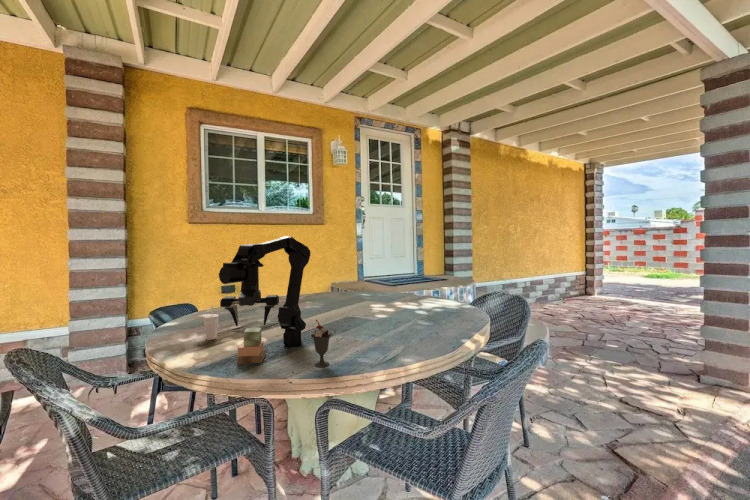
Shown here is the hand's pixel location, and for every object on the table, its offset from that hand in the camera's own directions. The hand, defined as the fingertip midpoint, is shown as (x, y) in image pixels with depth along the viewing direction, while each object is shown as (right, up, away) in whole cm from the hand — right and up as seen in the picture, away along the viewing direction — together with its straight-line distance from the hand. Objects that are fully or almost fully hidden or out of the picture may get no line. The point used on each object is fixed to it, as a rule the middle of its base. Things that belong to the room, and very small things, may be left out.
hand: (251, 325), depth 127 cm
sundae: (+25, -12, -5) cm, 28 cm away
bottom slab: (0, -13, +1) cm, 13 cm away
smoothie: (-26, -12, +28) cm, 40 cm away
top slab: (0, -10, +1) cm, 10 cm away
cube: (0, -7, +1) cm, 7 cm away
